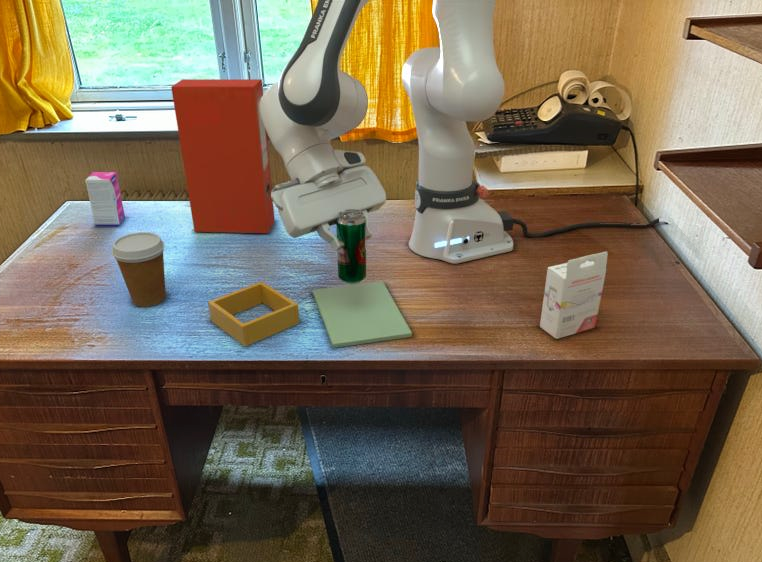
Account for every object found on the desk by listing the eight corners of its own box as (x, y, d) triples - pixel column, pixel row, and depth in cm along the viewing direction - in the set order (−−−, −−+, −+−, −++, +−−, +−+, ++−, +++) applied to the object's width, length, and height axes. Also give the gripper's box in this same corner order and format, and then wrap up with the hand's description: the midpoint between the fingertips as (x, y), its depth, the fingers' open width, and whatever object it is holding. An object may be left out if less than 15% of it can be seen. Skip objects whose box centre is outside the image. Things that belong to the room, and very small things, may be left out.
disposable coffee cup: (161, 313, 126) (149, 254, 119) (114, 309, 128) (100, 250, 121) (182, 289, 134) (171, 232, 127) (137, 285, 135) (125, 229, 129)
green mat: (382, 284, 133) (382, 280, 133) (412, 336, 117) (412, 332, 117) (312, 293, 131) (312, 289, 130) (332, 348, 115) (332, 344, 114)
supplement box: (119, 226, 160) (108, 179, 154) (94, 227, 161) (83, 180, 154) (126, 217, 165) (116, 171, 159) (102, 217, 165) (91, 171, 159)
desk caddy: (264, 300, 129) (262, 281, 127) (299, 323, 122) (298, 304, 119) (210, 321, 123) (207, 301, 121) (245, 346, 116) (242, 327, 113)
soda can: (333, 275, 121) (331, 211, 114) (359, 269, 122) (358, 206, 116) (344, 287, 117) (342, 221, 110) (371, 281, 118) (371, 216, 112)
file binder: (204, 219, 163) (183, 78, 145) (274, 220, 161) (261, 78, 143) (194, 232, 156) (170, 87, 138) (267, 234, 155) (252, 87, 137)
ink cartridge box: (577, 315, 122) (591, 240, 113) (595, 328, 118) (611, 251, 110) (537, 326, 119) (549, 249, 111) (555, 340, 115) (568, 261, 107)
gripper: (273, 177, 108) (312, 253, 107) (369, 150, 119) (406, 219, 118) (260, 196, 113) (298, 269, 113) (353, 169, 124) (388, 235, 123)
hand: (354, 243), depth 115 cm, fingers closed on soda can, 5 cm apart
